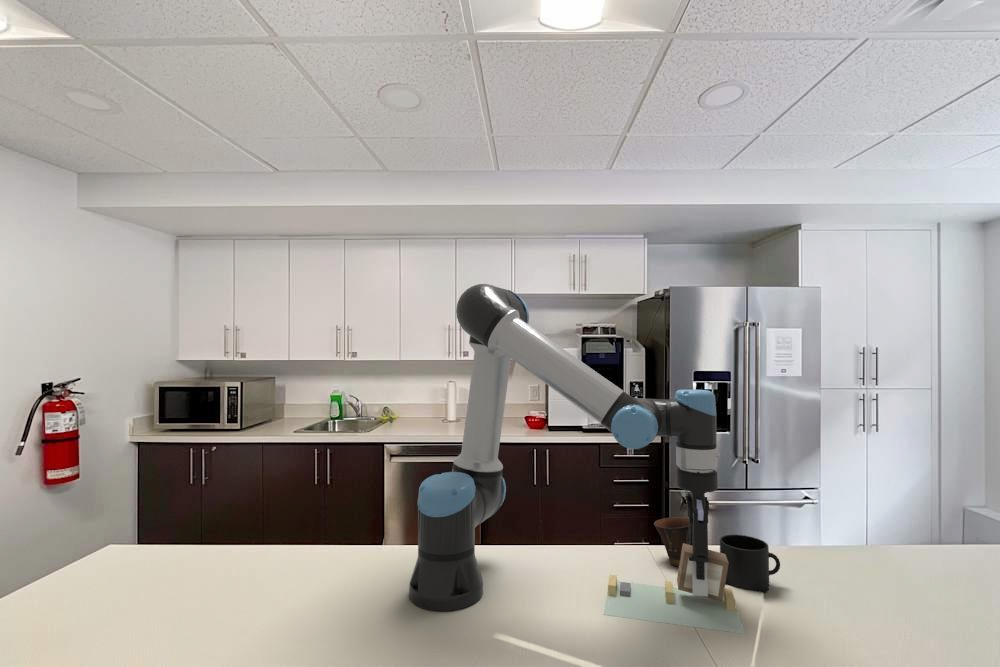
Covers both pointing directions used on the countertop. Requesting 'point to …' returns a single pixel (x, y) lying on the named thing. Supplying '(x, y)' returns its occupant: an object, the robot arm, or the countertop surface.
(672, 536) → the cup
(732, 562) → the mug
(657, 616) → the wall board
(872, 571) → the countertop surface
